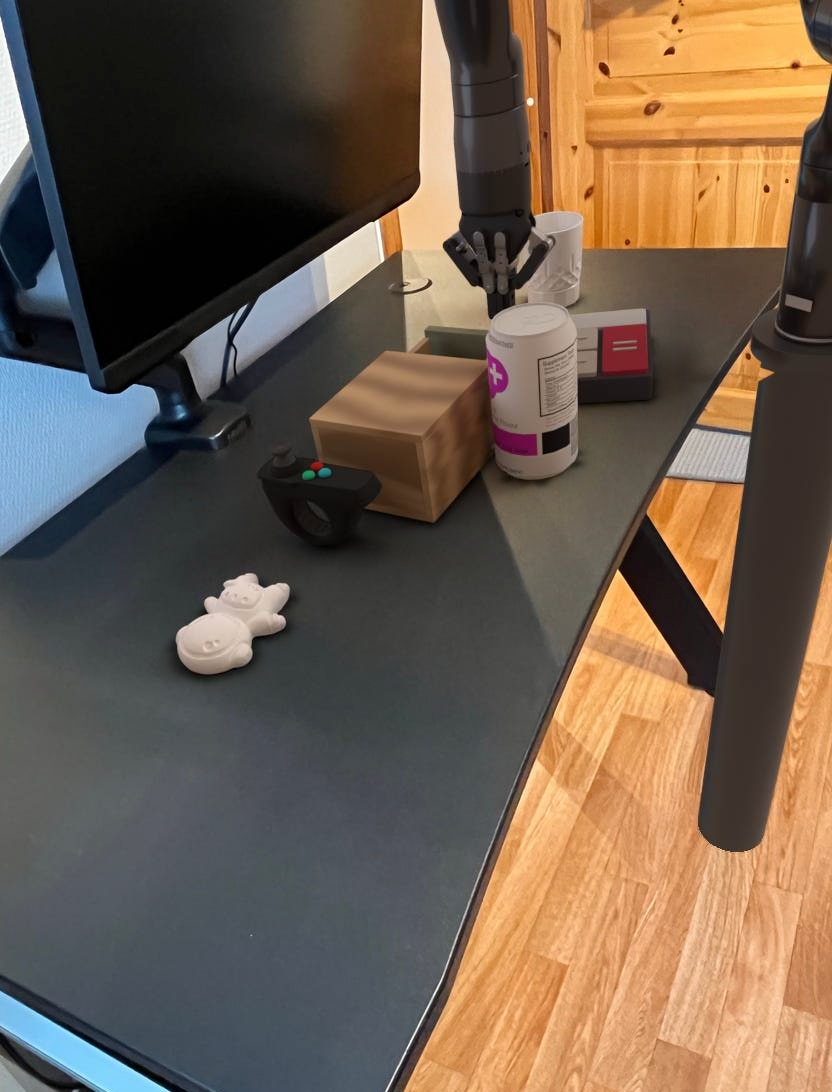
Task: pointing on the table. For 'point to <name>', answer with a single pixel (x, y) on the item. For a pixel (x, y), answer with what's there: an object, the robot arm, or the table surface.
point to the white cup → (558, 260)
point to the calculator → (614, 356)
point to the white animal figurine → (232, 625)
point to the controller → (316, 495)
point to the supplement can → (533, 389)
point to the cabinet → (411, 429)
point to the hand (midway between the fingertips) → (502, 322)
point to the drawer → (453, 343)
